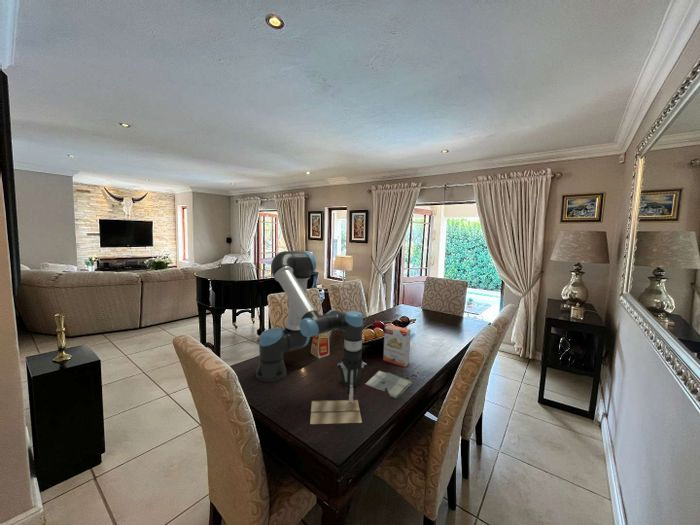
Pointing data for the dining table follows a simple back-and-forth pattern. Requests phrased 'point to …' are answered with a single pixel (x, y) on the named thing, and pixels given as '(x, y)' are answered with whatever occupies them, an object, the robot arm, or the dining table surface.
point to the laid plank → (335, 417)
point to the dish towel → (389, 383)
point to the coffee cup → (346, 374)
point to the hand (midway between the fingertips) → (350, 400)
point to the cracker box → (396, 345)
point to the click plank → (334, 405)
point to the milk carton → (320, 345)
